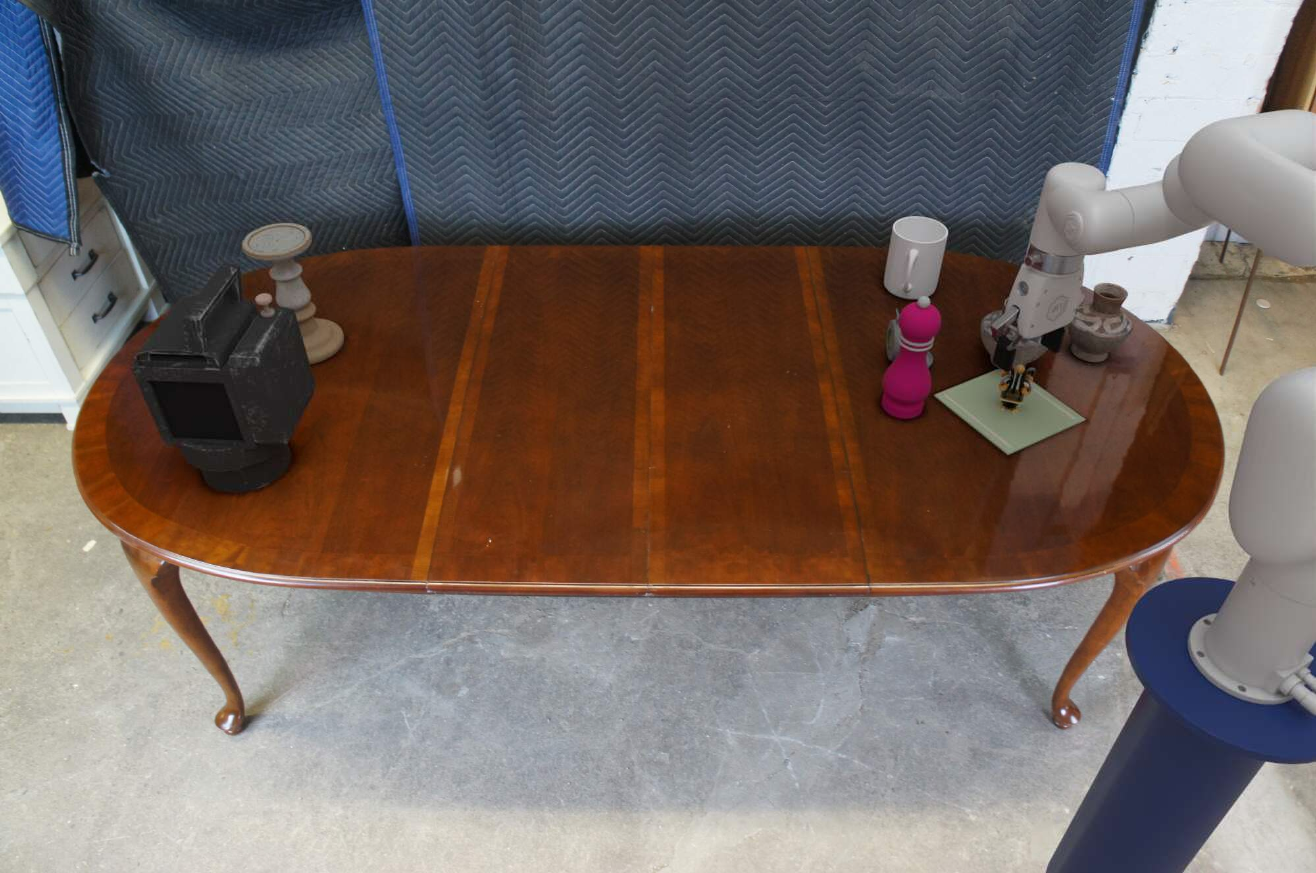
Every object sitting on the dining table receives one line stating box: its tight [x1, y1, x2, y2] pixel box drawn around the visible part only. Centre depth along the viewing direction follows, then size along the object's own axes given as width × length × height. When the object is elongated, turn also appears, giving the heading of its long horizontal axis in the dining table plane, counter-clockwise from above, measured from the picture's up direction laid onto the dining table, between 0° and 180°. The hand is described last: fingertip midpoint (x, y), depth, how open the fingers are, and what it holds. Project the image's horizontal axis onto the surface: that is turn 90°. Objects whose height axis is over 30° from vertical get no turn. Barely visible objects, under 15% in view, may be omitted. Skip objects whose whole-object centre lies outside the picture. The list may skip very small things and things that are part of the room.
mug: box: [883, 215, 949, 301], centre depth 174 cm, size 10×12×12 cm
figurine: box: [998, 365, 1037, 413], centre depth 149 cm, size 5×5×8 cm
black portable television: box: [130, 262, 317, 494], centre depth 133 cm, size 15×18×30 cm
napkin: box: [933, 368, 1086, 456], centre depth 152 cm, size 16×16×1 cm
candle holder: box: [241, 222, 345, 366], centre depth 158 cm, size 12×12×20 cm
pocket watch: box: [885, 308, 934, 369], centre depth 158 cm, size 8×8×10 cm
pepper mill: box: [881, 296, 942, 420], centre depth 146 cm, size 7×7×20 cm
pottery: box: [979, 282, 1134, 371], centre depth 158 cm, size 11×25×12 cm, turn 101°
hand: (1025, 357), depth 145 cm, fingers open, 9 cm apart
